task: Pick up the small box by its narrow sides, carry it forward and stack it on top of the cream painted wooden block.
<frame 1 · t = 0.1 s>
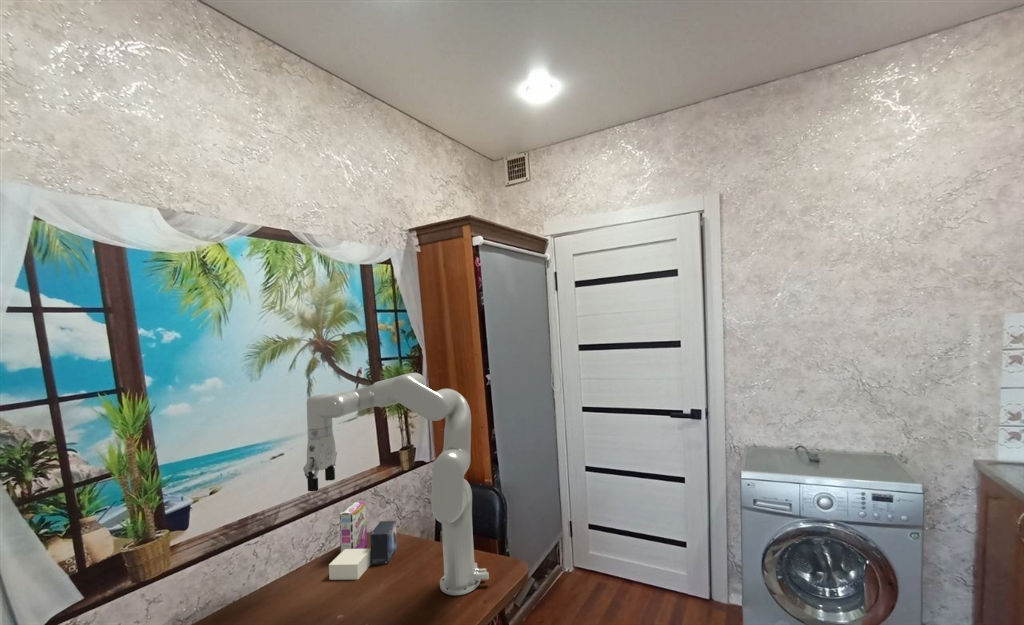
hand: (321, 485, 131), 31 cm above the table, fingers open, 9 cm apart
base block: (351, 571, 135), on the table
small box: (384, 557, 143), on the table
candy bar box: (354, 553, 147), on the table
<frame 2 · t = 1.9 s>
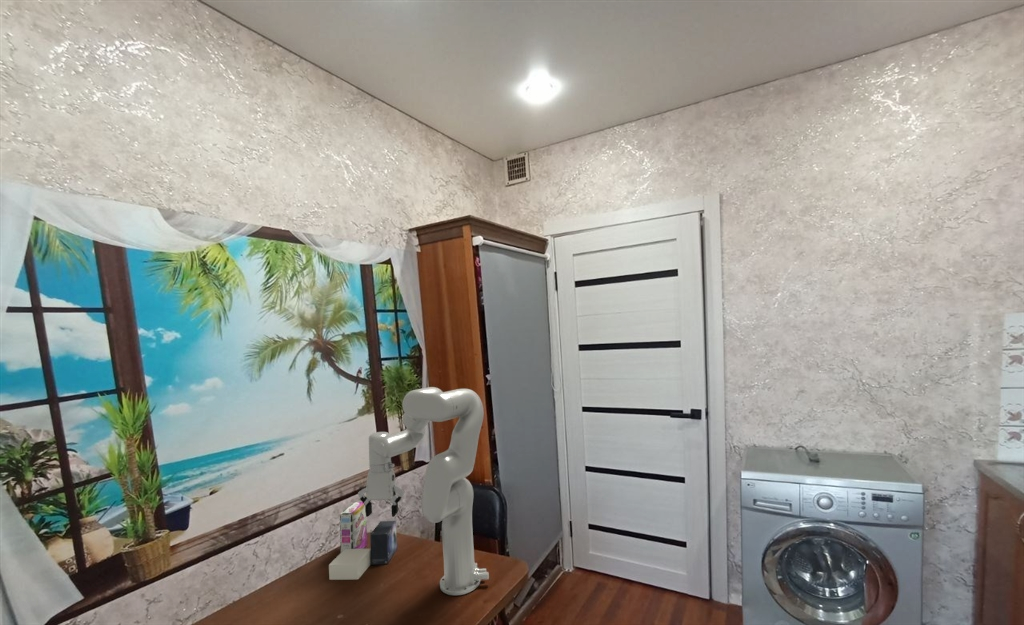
hand: (381, 515, 144), 14 cm above the table, fingers open, 9 cm apart
nothing on the table moved.
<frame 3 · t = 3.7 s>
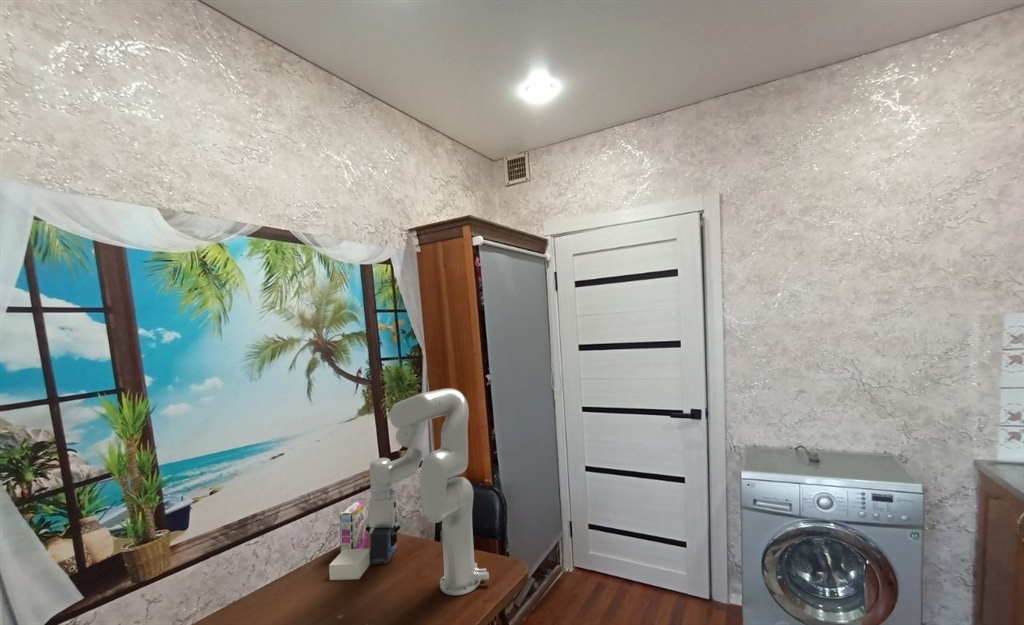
hand: (384, 544, 143), 4 cm above the table, fingers closed on small box, 6 cm apart
small box: (384, 557, 143), on the table, touching gripper
everything else where it was.
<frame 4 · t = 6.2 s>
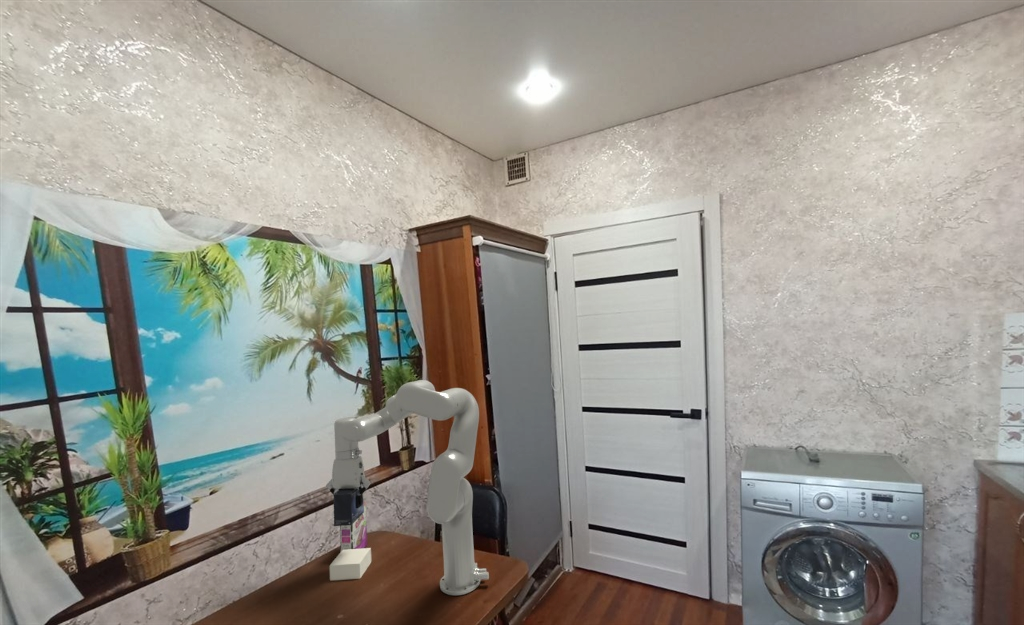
hand: (349, 506, 137), 21 cm above the table, fingers closed on small box, 6 cm apart
small box: (349, 519, 136), point 17 cm above the table, touching gripper
everything else where it was.
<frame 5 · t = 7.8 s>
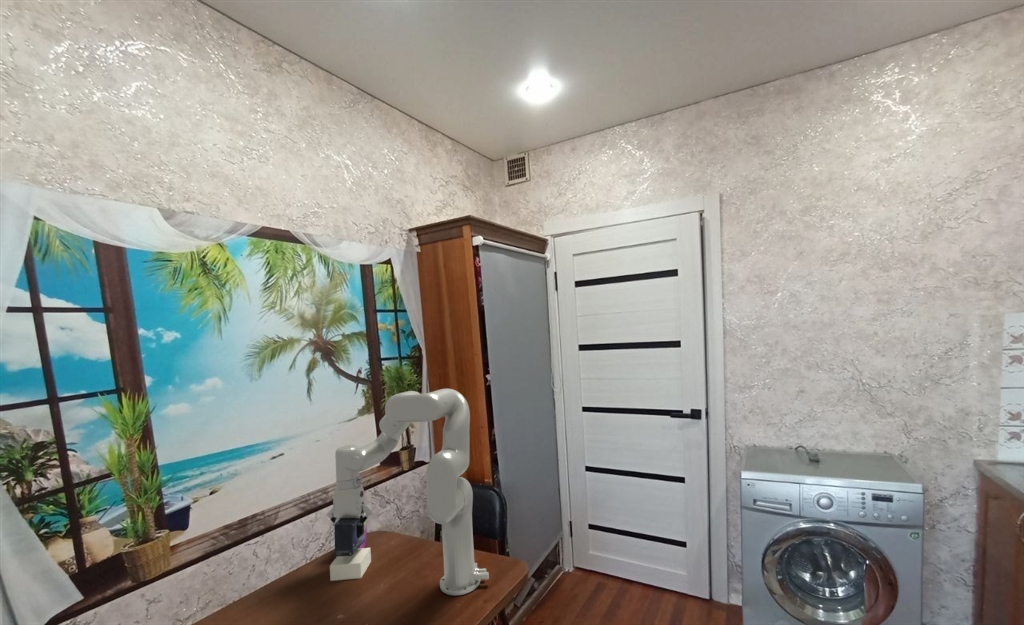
hand: (350, 535, 136), 11 cm above the table, fingers closed on small box, 6 cm apart
small box: (350, 549, 136), point 7 cm above the table, touching gripper
everything else where it was.
when the fingers open (10 cm above the table, at t = 9.0 s): small box drops 1 cm, resting on base block.
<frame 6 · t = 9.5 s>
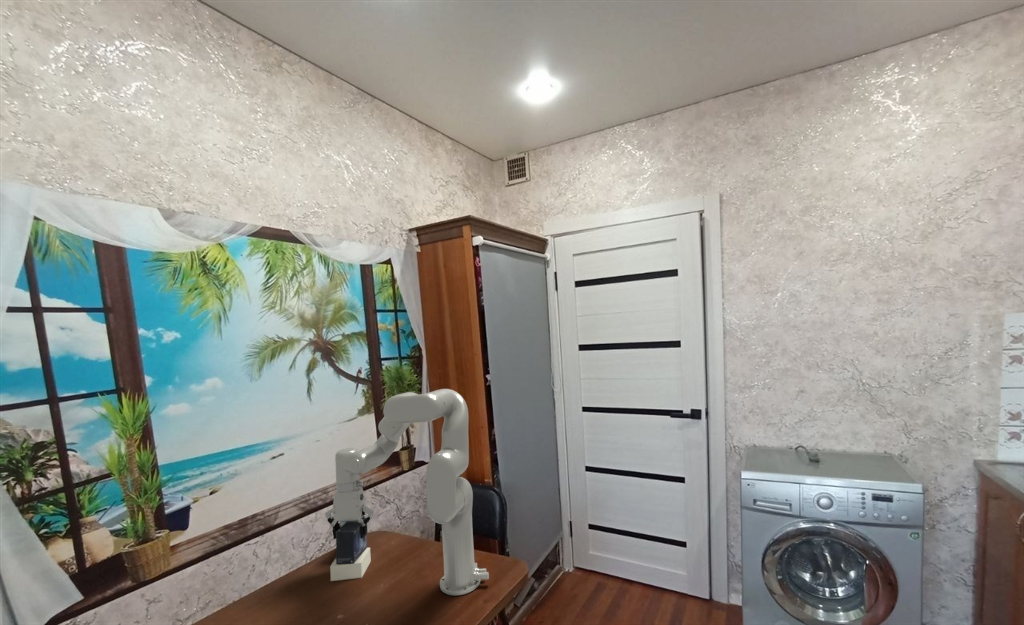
hand: (350, 536, 136), 11 cm above the table, fingers open, 9 cm apart
base block: (351, 571, 135), on the table, touching small box
small box: (352, 556, 135), point 4 cm above the table, touching base block
everything else where it was.
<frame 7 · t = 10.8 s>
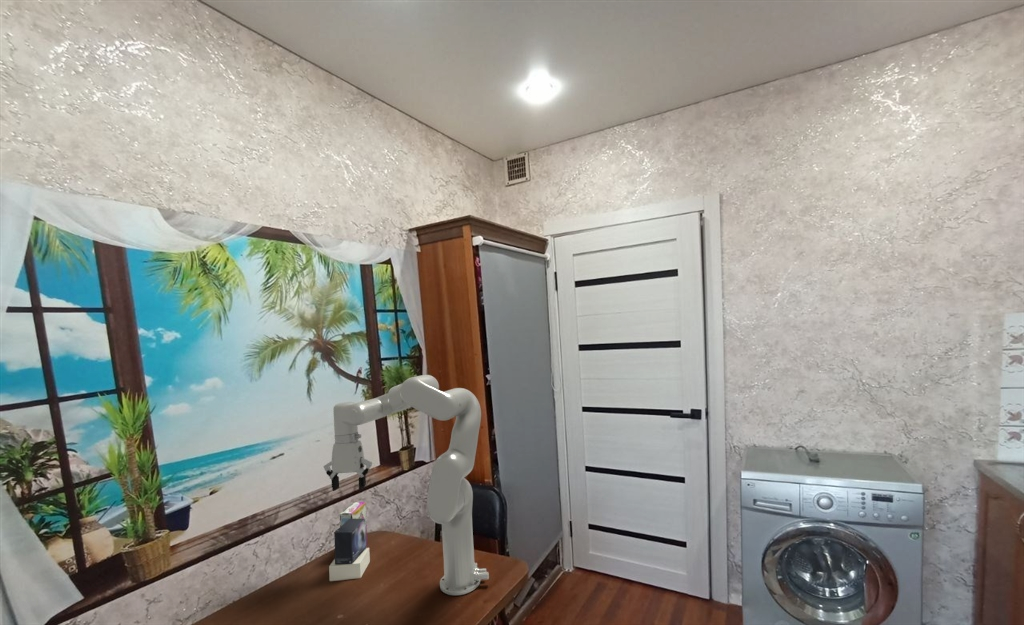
hand: (349, 488, 137), 27 cm above the table, fingers open, 9 cm apart
nothing on the table moved.
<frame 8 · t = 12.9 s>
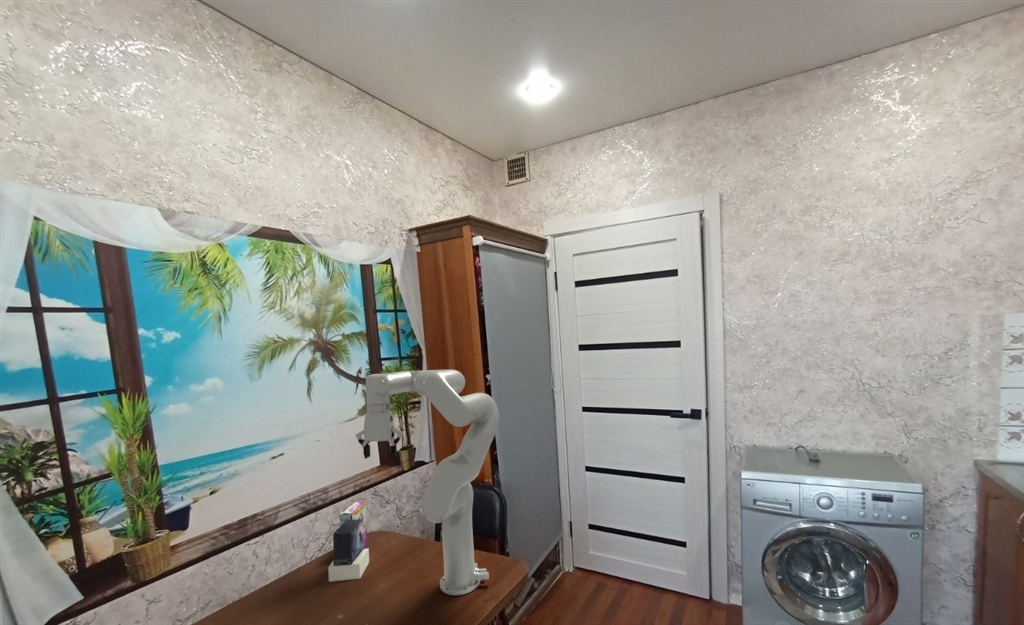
hand: (380, 456, 141), 36 cm above the table, fingers open, 9 cm apart
nothing on the table moved.
at the end: small box inside the target area on the base block (0.0 cm from its centre), point 4.8 cm above the base block's base; small box tilted 0°; the gripper is holding nothing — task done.
